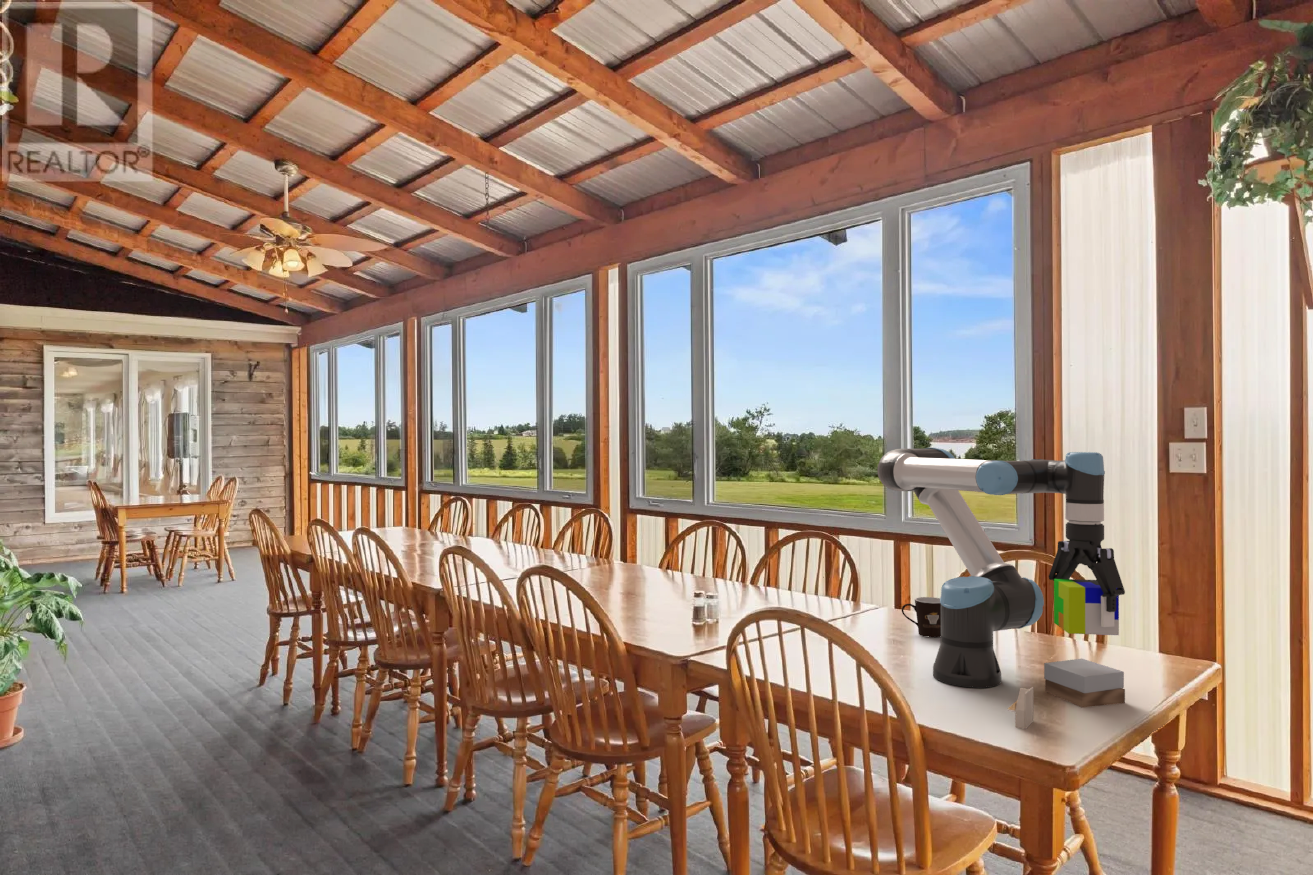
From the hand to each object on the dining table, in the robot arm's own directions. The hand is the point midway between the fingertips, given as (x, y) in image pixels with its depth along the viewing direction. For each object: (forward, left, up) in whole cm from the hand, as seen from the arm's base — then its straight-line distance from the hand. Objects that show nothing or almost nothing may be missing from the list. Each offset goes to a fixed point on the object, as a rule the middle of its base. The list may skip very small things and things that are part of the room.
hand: (1084, 619), depth 179 cm
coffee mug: (-3, +58, -17) cm, 61 cm away
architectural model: (-24, -11, -18) cm, 32 cm away
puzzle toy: (0, 0, -2) cm, 2 cm away
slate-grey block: (0, 0, -14) cm, 14 cm away
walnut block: (0, 0, -18) cm, 18 cm away
